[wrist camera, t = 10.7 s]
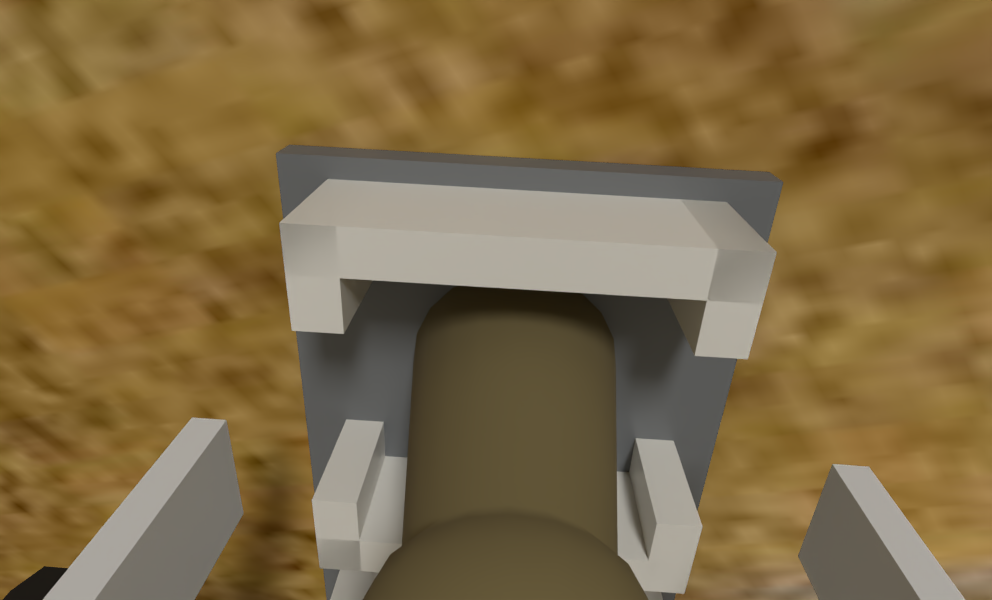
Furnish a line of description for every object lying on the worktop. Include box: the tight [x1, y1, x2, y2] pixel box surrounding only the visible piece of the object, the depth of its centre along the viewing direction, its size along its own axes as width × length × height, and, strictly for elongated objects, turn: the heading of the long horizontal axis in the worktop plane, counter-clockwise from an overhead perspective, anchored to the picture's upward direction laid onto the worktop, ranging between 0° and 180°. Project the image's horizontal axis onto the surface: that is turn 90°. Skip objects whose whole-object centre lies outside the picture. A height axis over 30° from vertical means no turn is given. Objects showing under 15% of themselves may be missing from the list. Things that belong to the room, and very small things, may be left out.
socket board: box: [276, 145, 783, 600], centre depth 18 cm, size 13×24×8 cm, turn 177°
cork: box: [363, 286, 648, 600], centre depth 13 cm, size 6×6×11 cm
